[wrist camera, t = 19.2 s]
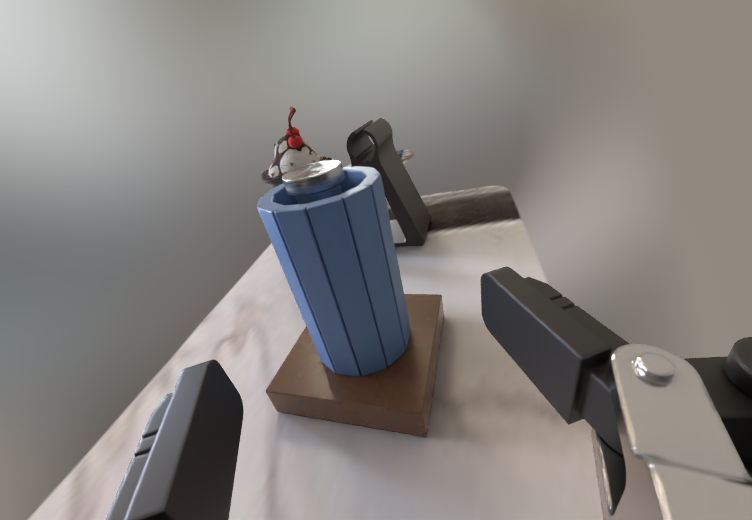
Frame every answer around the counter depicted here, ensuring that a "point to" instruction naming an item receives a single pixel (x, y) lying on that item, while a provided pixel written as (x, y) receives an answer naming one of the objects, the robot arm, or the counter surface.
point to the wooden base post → (361, 393)
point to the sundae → (289, 155)
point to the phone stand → (391, 181)
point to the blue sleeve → (343, 271)
